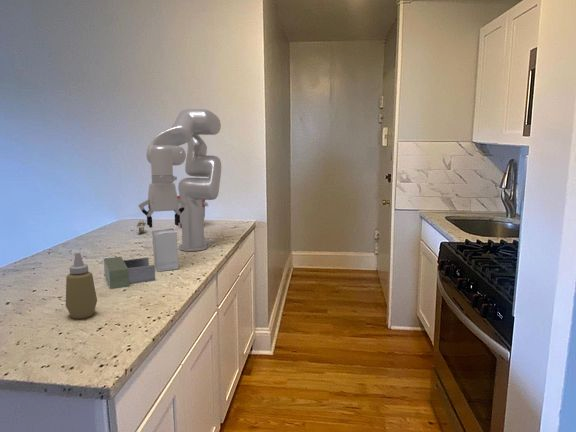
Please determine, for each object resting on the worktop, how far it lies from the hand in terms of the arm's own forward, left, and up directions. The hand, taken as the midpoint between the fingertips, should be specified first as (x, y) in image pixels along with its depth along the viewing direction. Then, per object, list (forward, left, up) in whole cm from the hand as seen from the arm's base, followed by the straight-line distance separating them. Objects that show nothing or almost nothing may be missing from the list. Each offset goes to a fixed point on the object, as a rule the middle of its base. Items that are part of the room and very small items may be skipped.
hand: (163, 226), depth 166 cm
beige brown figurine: (-3, -68, -17) cm, 70 cm away
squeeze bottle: (+31, +34, -17) cm, 48 cm away
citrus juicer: (-31, -72, -17) cm, 81 cm away
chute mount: (+14, +6, -17) cm, 22 cm away
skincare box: (0, -1, -17) cm, 17 cm away
